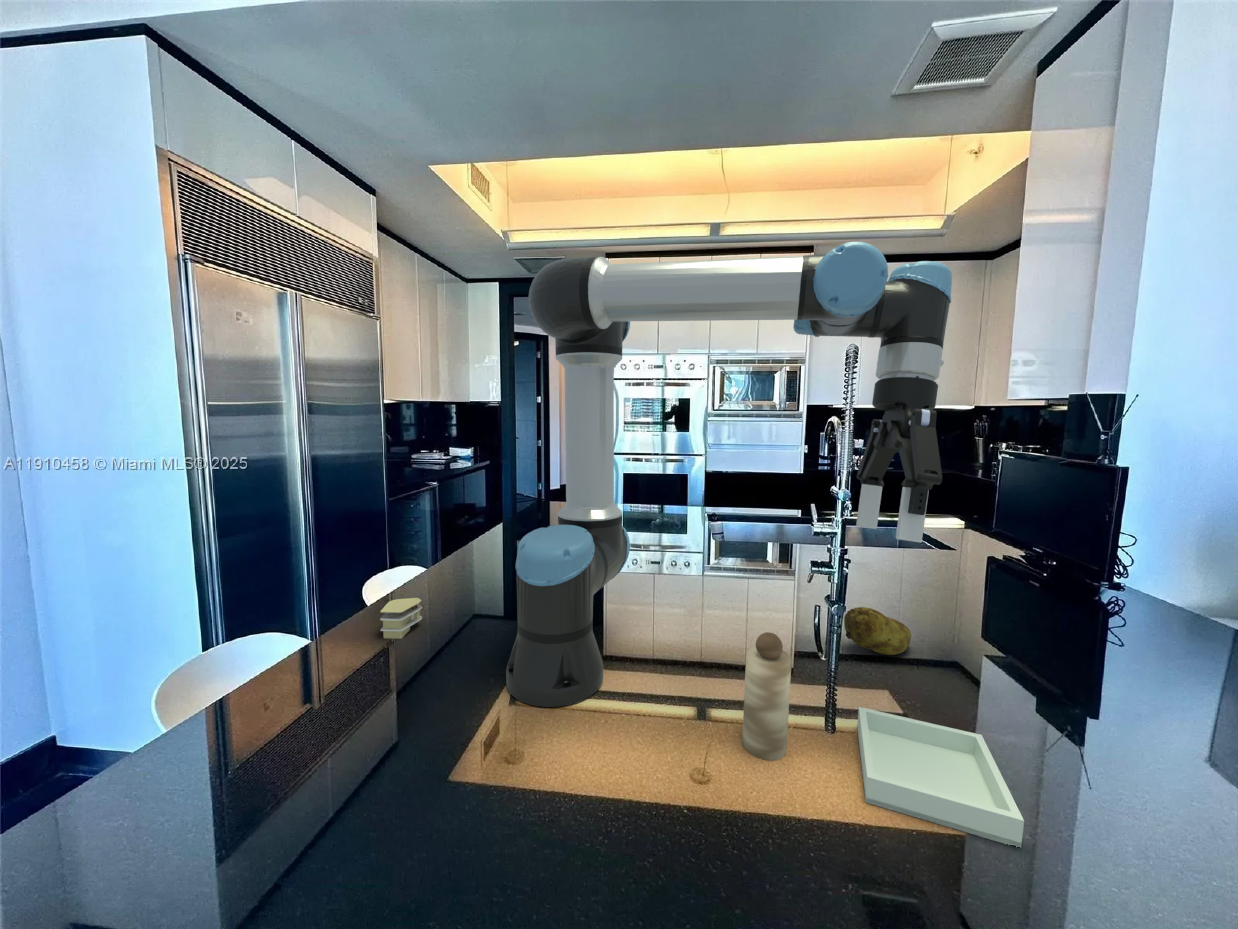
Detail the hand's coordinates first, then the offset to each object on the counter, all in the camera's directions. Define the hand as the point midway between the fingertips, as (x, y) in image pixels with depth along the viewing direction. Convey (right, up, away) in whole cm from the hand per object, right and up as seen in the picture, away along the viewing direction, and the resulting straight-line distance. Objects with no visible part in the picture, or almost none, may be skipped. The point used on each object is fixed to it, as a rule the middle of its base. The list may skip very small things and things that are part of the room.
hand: (885, 533), depth 65 cm
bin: (-1, -27, -10) cm, 29 cm away
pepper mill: (-18, -26, -5) cm, 32 cm away
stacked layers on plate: (-78, -23, +25) cm, 85 cm away
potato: (+10, -24, +20) cm, 33 cm away
